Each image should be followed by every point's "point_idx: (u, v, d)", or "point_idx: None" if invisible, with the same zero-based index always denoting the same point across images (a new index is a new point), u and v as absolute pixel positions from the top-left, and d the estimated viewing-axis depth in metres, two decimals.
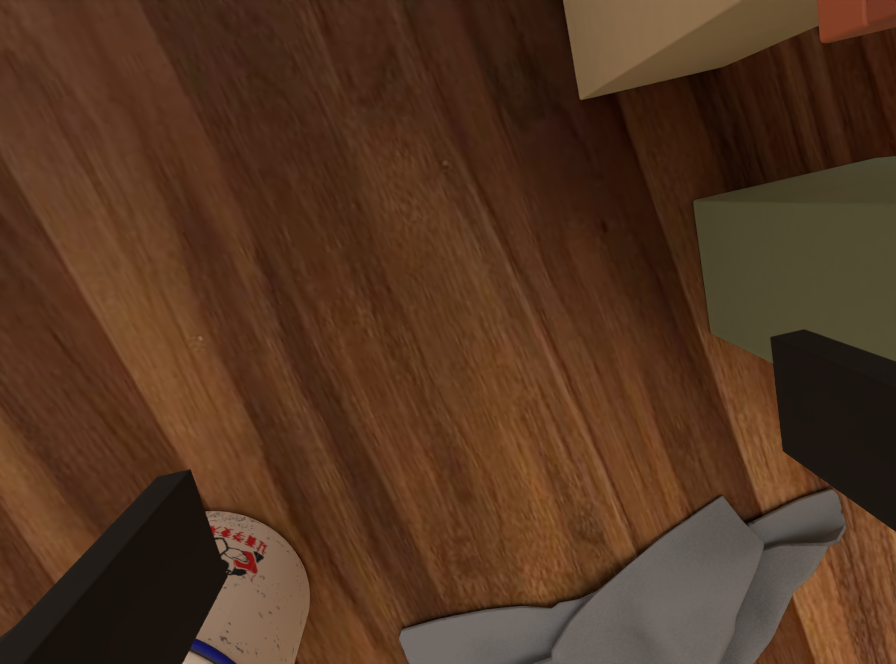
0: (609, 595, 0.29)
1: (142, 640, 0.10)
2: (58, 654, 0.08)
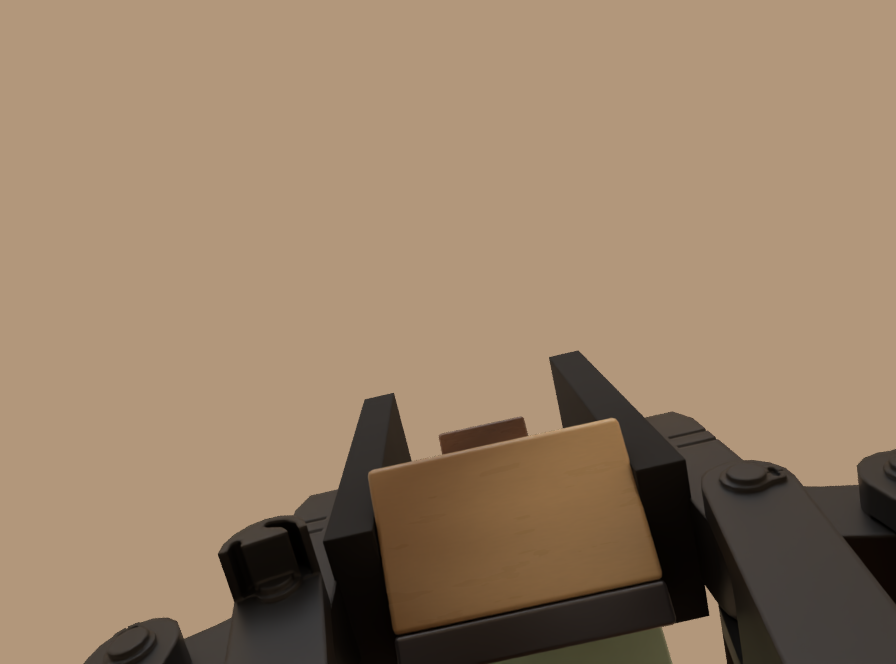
0: None
1: None
2: None
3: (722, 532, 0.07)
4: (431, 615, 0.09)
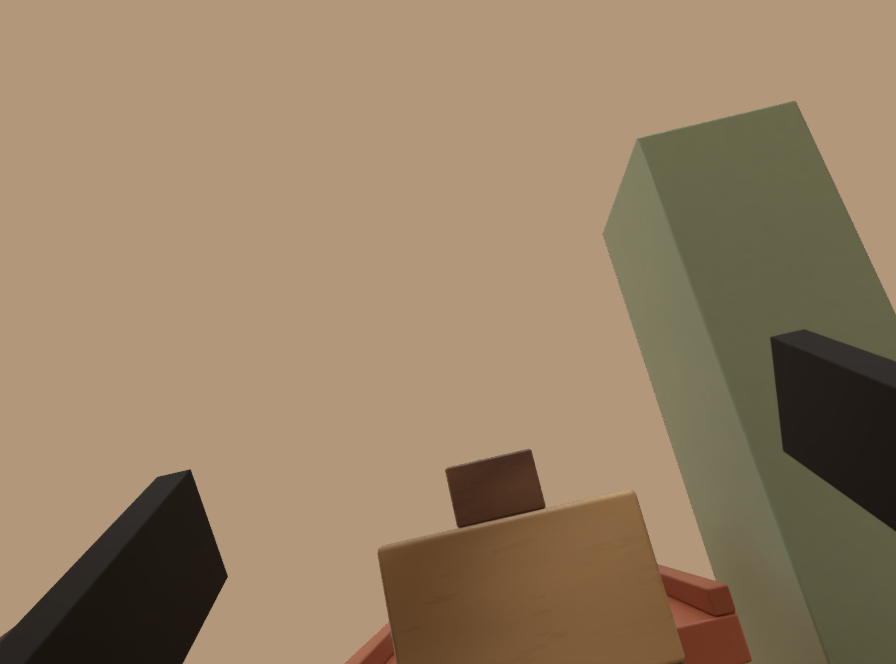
0: None
1: (142, 640, 0.10)
2: (58, 654, 0.08)
3: None
4: None
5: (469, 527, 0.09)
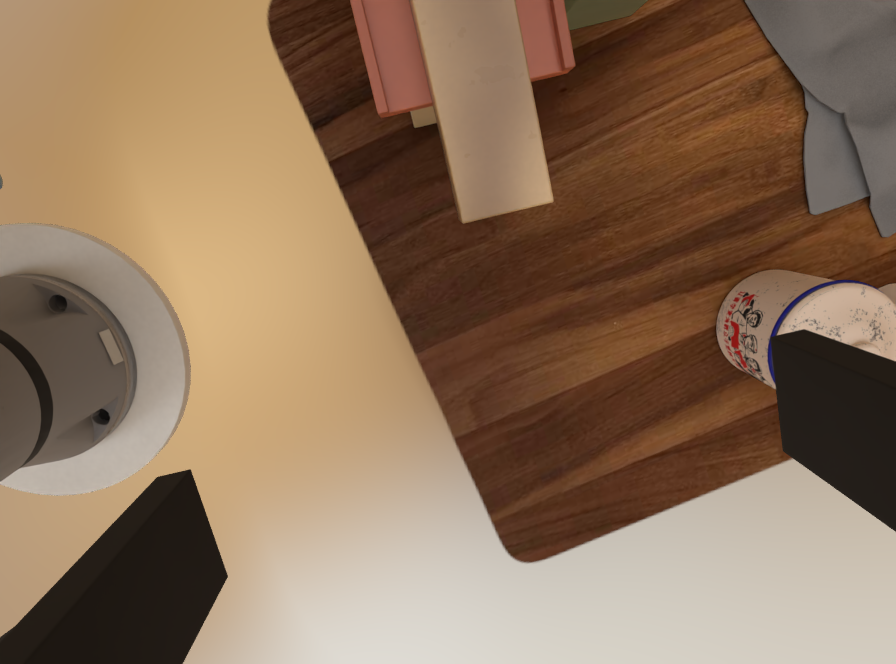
0: (803, 73, 0.44)
1: (142, 640, 0.10)
2: (58, 654, 0.08)
3: None
4: None
5: (495, 215, 0.26)
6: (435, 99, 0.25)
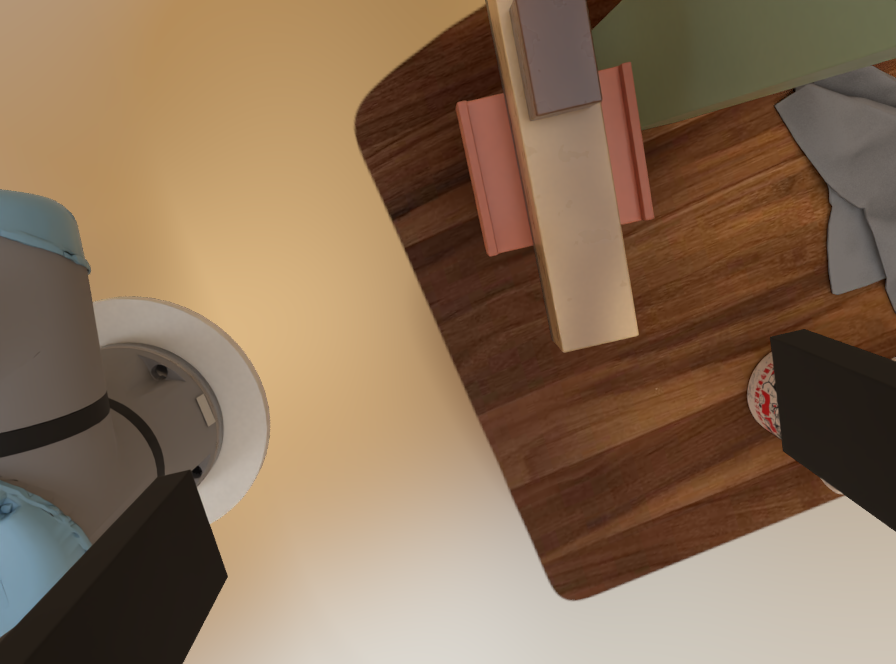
0: (828, 173, 0.50)
1: (142, 640, 0.10)
2: (58, 654, 0.08)
3: None
4: None
5: (590, 346, 0.32)
6: (545, 255, 0.30)
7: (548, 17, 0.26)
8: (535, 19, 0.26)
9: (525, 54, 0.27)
